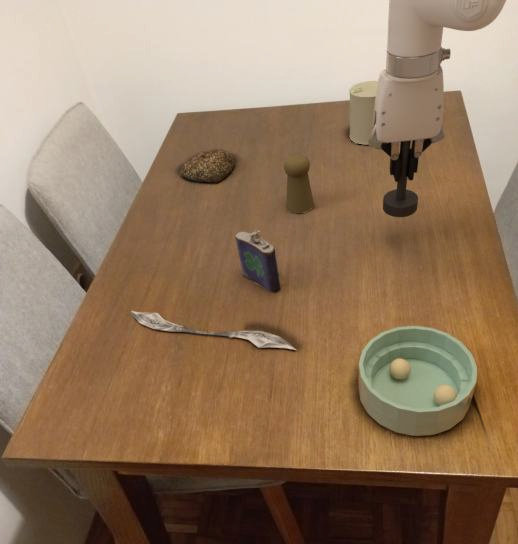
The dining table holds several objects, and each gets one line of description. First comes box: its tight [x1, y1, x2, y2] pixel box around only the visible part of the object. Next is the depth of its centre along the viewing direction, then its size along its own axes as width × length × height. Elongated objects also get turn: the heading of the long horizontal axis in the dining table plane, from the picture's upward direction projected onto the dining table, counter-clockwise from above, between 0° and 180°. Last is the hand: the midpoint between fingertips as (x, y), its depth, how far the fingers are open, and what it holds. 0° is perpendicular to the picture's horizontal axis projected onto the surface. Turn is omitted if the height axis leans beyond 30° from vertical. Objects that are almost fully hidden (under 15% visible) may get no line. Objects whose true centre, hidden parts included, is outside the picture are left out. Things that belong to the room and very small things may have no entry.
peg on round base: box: [382, 140, 419, 218], centre depth 90 cm, size 6×6×13 cm
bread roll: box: [180, 148, 236, 184], centre depth 126 cm, size 13×12×5 cm
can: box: [348, 80, 378, 144], centre depth 125 cm, size 9×9×12 cm
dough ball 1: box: [389, 359, 411, 379], centre depth 76 cm, size 3×3×3 cm
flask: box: [235, 229, 282, 294], centre depth 93 cm, size 9×3×11 cm, turn 43°
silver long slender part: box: [130, 310, 297, 351], centre depth 89 cm, size 32×1×5 cm
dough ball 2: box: [434, 385, 457, 406], centre depth 71 cm, size 3×3×3 cm
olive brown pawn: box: [283, 153, 315, 214], centre depth 108 cm, size 6×6×11 cm
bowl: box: [357, 325, 478, 437], centre depth 73 cm, size 15×15×6 cm
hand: (402, 176), depth 90 cm, fingers closed on peg on round base
